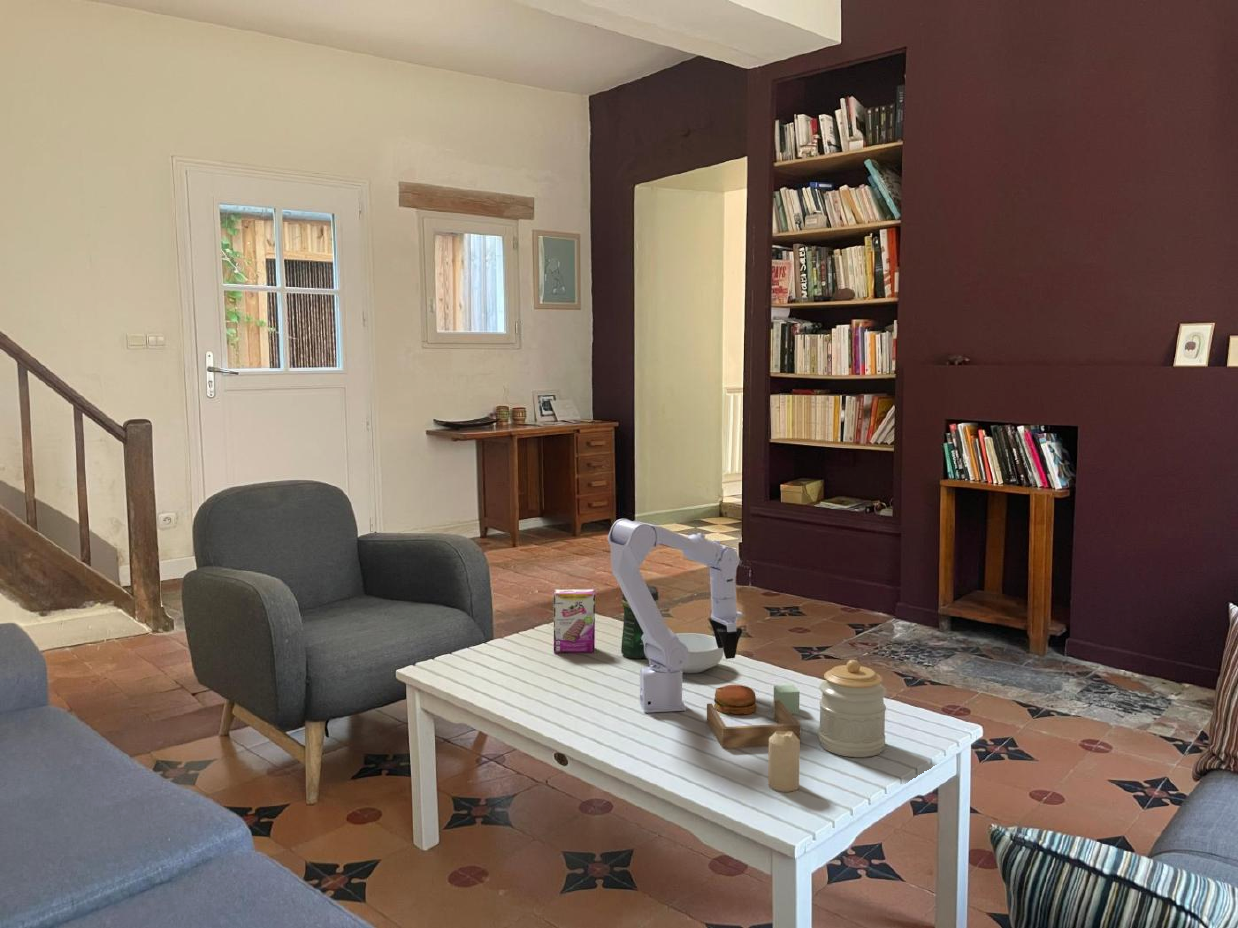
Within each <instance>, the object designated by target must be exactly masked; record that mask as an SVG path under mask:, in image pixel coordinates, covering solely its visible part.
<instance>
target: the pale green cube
mask: <svg viewBox="0 0 1238 928" xmlns="http://www.w3.org/2000/svg"><path fill="white" fill-rule="evenodd" d="M800 697H801V696H800V690H799V689H798V688H797V687H796V686H795V685H794V684H785V685H782V684H781V685H773V709H774V710H775V700H780V702H781V703H782V704H783V705H784V706H785V707H786V709H787V710H788V711H789V712H790V713H791V714H792V715H793V714H794V715H796V714H800Z"/></svg>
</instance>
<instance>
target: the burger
mask: <svg viewBox="0 0 1238 928" xmlns="http://www.w3.org/2000/svg"><path fill="white" fill-rule="evenodd" d="M756 698H757V696H756V693H755V691H754V690H753V688H750V687H748V686H745V685H742V684H741V685H740V684H727V685H724V686H721V687H717V688H716V690H715V693H714V700H713V702H714V705H713V707H714V708H715V710H716V711H717V713H721V714H727V715H731V714H732V715H737V716H738V715H750V714H752V713H754V712H755V711H757V703H756V700H757V699H756Z"/></svg>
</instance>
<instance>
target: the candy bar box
mask: <svg viewBox="0 0 1238 928" xmlns="http://www.w3.org/2000/svg"><path fill="white" fill-rule="evenodd" d="M595 618H596V590H595V589H593V588H592V589H591V588H589V589H554V591H553V653H554V654H563V653H565V654H569V653H595V651H596V650H595V649H596V648H595V644H596V640H595V639H596V633H595V631H596V629H595V628H596V619H595Z"/></svg>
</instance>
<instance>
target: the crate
mask: <svg viewBox="0 0 1238 928" xmlns="http://www.w3.org/2000/svg"><path fill="white" fill-rule="evenodd" d="M774 720H775V721H776V722H777V723H778V724H775V723H773V724H758V725H757V724H756V725H740V726H739V725H737V726H727V725H726V724H725V722H724V721H723V719H722V717H721V716H720V714H719V712H718V711H717V710H715V708H714V705H713V704H712V703H706V723H707V725H708V726H709V728H710V730H711V731H712V733H713V735H714V737H715V738H716V740H717V742H718V744H719V746H720V747H721V749H735V748H736V749H737V748H752V747H753V748H756V747H769V738H770V737H771V736H772V735H773V734H774V733H775V732H776V731H777V732H778V731H782V732H788V731H791V732H793V733H794V734H795V736H796V737H797V738H798V739H799V740H800V741H801V727H802V726H801V724H800V723H799V721H797V719H796V717H794V715H793V714H791V713H790V712H789V711H788V710H787V709H786V707H785V706H784V705H783V704H782V703H781V702H780V700H775V709H774Z"/></svg>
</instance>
